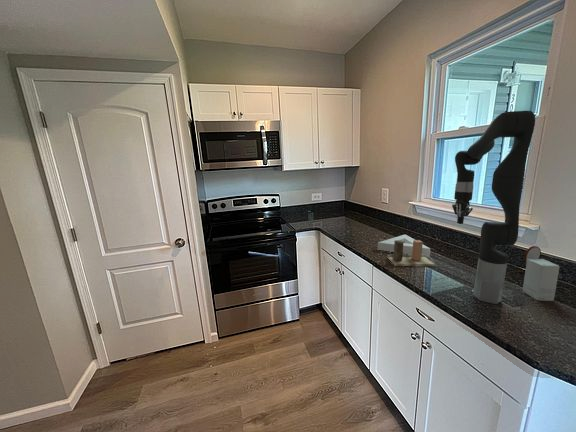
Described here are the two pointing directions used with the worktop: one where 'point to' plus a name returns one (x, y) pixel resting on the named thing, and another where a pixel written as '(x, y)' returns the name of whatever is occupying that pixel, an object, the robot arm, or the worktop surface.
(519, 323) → the worktop surface
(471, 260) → the worktop surface
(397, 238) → the triangle block
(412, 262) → the board
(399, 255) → the fixed leg
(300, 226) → the worktop surface
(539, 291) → the skincare box
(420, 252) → the block
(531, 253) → the magnifying glass
